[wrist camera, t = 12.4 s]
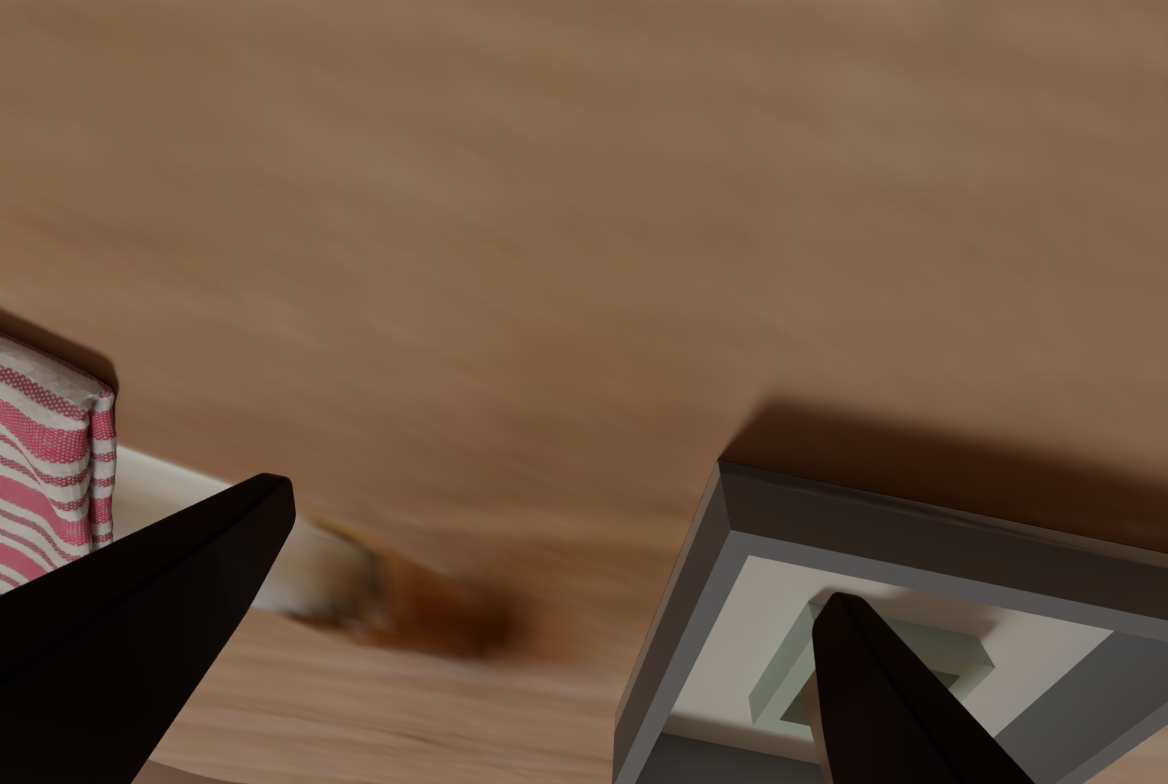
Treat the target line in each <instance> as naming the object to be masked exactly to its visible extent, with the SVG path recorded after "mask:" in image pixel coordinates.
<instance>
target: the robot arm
mask: <svg viewBox="0 0 1168 784" xmlns="http://www.w3.org/2000/svg"><path fill="white" fill-rule="evenodd" d="M295 518H296V510H295V502H294V495H293V487H292V482H291V480H290V479H289V478H287V477H285V476H280V475H276V474H271V473H261V474H258V475H256V476H254V477H252V478H249V479H247V480H245V481H243V482H241V483H239V484H237V485H234V486H232V487H230V488H228V489H226V490H224V491H222V492H219V493H217V494H215V495H213V496H211V497H209V498H207V499H205V500H202V501H200V502H198V503H196V504H194V505H192V506H190V507H187V508H185V509H183V510H181V511H179V512H177V513H175V514H172V515H170V516H168V517H166V518H164V519H162V520H160V521H157V522H155V523H153V524H151V525H149V526H147V527H145V528H143V529H140V530H138V531H136V532H134V533H132V534H130V535H128V536H125V537H123V538H121V539H119V540H117V541H115V542H113V543H110V544H108V545H106V546H104V547H102V548H100V549H98V550H95V551H93V552H91V553H89V554H87V555H85V556H83V557H80V558H78V559H76V560H74V561H72V562H70V563H68V564H66V565H63V566H61V567H59V568H57V569H55V570H53V571H51V572H48V573H46V574H44V575H42V576H40V577H38V578H36V579H33V580H31V581H29V582H27V583H25V584H23V585H21V586H18V587H16V588H14V589H12V590H10V591H8V592H6V593H4V594H1V595H0V784H131V783H132V781H133V780H134V778H135V777H136V775H137V774H138V772H139V771H140V769H141V768H142V767H143V765H144V764H145V762H146V761H147V759H148V758H149V756H150V755H151V753H152V752H153V750H154V749H155V747H156V746H157V744H158V743H159V741H160V740H161V739H162V737H163V736H164V734H165V733H166V731H167V730H168V728H169V727H170V725H171V724H172V722H173V721H174V719H175V718H176V716H177V715H178V714H179V712H180V711H181V709H182V708H183V706H184V705H185V703H186V702H187V700H188V699H189V697H190V696H191V694H192V693H193V691H194V690H195V689H196V687H197V686H198V684H199V683H200V681H201V680H202V678H203V677H204V675H205V674H206V672H207V671H208V669H209V668H210V666H211V665H212V663H213V662H214V661H215V659H216V658H217V656H218V655H219V653H220V652H221V650H222V649H223V647H224V646H225V644H226V643H227V641H228V640H229V638H230V637H231V636H232V634H233V633H234V631H235V630H236V628H237V627H238V625H239V624H240V622H241V620H242V619H243V617H244V616H245V614H246V613H247V611H248V609H249V607H250V606H251V604H252V602H253V600H254V599H255V597H256V595H257V593H258V591H259V589H260V587H261V586H262V584H263V582H264V580H265V578H266V576H267V574H268V573H269V571H270V569H271V567H272V565H273V563H274V561H275V560H276V558H277V556H278V554H279V552H280V550H281V548H282V547H283V545H284V543H285V541H286V539H287V537H288V535H289V534H290V532H291V530H292V528H293V525H294V522H295ZM812 642H813V651H814V661H815V670H816V679H817V688H818V697H819V707H820V716H821V723H822V730H823V736H824V741H825V747H826V752H827V756H828V761H829V766H830V771H831V775H832V780H833V784H1035V782H1034V781H1033V780H1032V779H1031V778H1030V777H1029V776H1028V775H1027V774H1026V773H1025V772H1024V771H1023V770H1022V768H1021V767H1020V766H1019V765H1018V764H1017V763H1016V762H1015V761H1014V760H1013V759H1012V758H1011V757H1010V756H1009V754H1008V753H1007V752H1006V751H1005V750H1004V749H1003V748H1002V747H1001V746H1000V745H999V744H998V743H997V742H996V740H995V739H994V738H993V737H992V736H991V735H990V734H989V733H988V732H987V731H986V730H985V729H984V728H983V726H982V725H981V724H980V723H979V722H978V721H977V720H976V719H975V718H974V717H973V716H972V715H971V714H970V712H969V711H968V710H967V709H966V708H965V707H964V706H963V705H962V704H961V703H960V702H959V701H958V699H957V698H956V697H955V696H954V695H953V694H952V693H951V692H950V691H949V690H948V689H947V688H946V687H945V685H944V684H943V683H942V682H941V681H940V680H939V679H938V678H937V677H936V676H935V675H934V674H933V673H932V671H931V670H930V669H929V668H928V667H927V666H926V665H925V664H924V663H923V662H922V661H921V660H920V659H919V657H918V656H917V655H916V654H915V653H914V652H913V651H912V650H911V649H910V648H909V647H908V646H907V645H906V643H905V642H904V641H903V640H902V639H901V638H900V637H899V636H898V635H897V634H896V633H895V632H894V631H893V629H892V628H891V627H890V626H889V625H888V624H887V623H886V622H885V621H884V620H883V619H882V618H881V616H880V615H879V614H878V613H877V612H876V611H875V610H874V609H873V608H872V607H871V606H870V605H869V604H868V602H867V601H865V600H864V599H863V598H862V597H860V596H857V595H853V594H848V593H843V592H835V593H833V594H832V595H831V596H830V598H829V599H828V601H827V602H826V604H825V605H824V607H823V608H822V610H821V611H820V613H819V615H818V616H817V618H816V619H815V621H814V624H813V627H812Z"/></svg>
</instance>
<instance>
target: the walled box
mask: <svg viewBox="0 0 1168 784" xmlns="http://www.w3.org/2000/svg"><path fill="white" fill-rule="evenodd" d="M835 592H843V593H848V594H853V595H857V596H860V597H862V598H863V599H864V600H865V601H867V602H868V604H869V605H870V606H871V607H872V608H873V609H874V610H875V611H876V612H877V613H878V614H879V615H880V616H881V618H882V619H883V620H884V621H885V622H886V623H887V624H888V625H889V626H890V627H891V628H892V629H893V631H894V632H895V633H896V634H897V635H898V636H899V637H900V638H901V639H902V640H903V641H904V642H905V643H906V645H907V646H908V647H909V648H910V649H911V650H912V651H913V652H914V653H915V654H916V655H917V656H918V657H919V659H920V660H921V661H922V662H923V663H924V664H925V665H926V666H927V667H928V668H929V669H930V670H931V671H932V673H933V674H934V675H935V676H936V677H937V678H938V679H939V680H940V681H941V682H942V683H943V684H944V685H945V687H946V688H947V689H948V690H949V691H950V692H951V693H952V694H953V695H954V696H955V697H956V698H957V699H958V701H959V702H960V703H961V704H962V705H963V706H964V707H965V708H966V709H967V710H968V711H969V712H970V714H971V715H972V716H973V717H974V718H975V719H976V720H977V721H978V722H979V723H980V724H981V725H982V726H983V728H984V729H985V730H986V731H987V732H988V733H989V734H990V735H991V736H992V737H993V738H994V739H995V740H996V742H997V743H998V744H999V745H1000V746H1001V747H1002V748H1003V749H1004V750H1005V751H1006V752H1007V753H1008V754H1009V756H1010V757H1011V758H1012V759H1013V760H1014V761H1015V762H1016V763H1017V764H1018V765H1019V766H1020V767H1021V768H1022V770H1023V771H1024V772H1025V773H1026V774H1027V775H1028V776H1029V777H1030V778H1031V779H1032V780H1033V781H1034V782H1035V784H1083V783H1084V782H1086V781H1087V780H1089V779H1090V778H1091V777H1093V776H1094V775H1096V774H1097V773H1099V772H1100V771H1101V770H1103V769H1104V768H1106V767H1107V766H1109V765H1110V764H1111V763H1113V762H1114V761H1116V760H1117V759H1119V758H1120V757H1121V756H1123V755H1124V754H1126V753H1127V752H1129V751H1130V750H1131V749H1133V748H1134V747H1136V746H1137V745H1139V744H1140V743H1141V742H1143V741H1144V740H1146V739H1147V738H1148V737H1150V736H1151V735H1153V734H1154V733H1156V732H1157V731H1158V730H1160V729H1161V728H1163V727H1164V726H1166V725H1167V724H1168V554H1165V553H1161V552H1156V551H1151V550H1146V549H1142V548H1137V547H1132V546H1127V545H1122V544H1118V543H1113V542H1108V541H1103V540H1098V539H1094V538H1089V537H1084V536H1079V535H1075V534H1070V533H1065V532H1060V531H1055V530H1051V529H1046V528H1041V527H1036V526H1031V525H1027V524H1022V523H1017V522H1012V521H1008V520H1003V519H998V518H993V517H988V516H984V515H979V514H974V513H969V512H965V511H960V510H955V509H950V508H945V507H941V506H936V505H931V504H926V503H921V502H917V501H912V500H907V499H902V498H898V497H893V496H888V495H883V494H878V493H874V492H869V491H864V490H859V489H854V488H850V487H845V486H840V485H835V484H831V483H826V482H821V481H816V480H811V479H807V478H802V477H797V476H792V475H787V474H783V473H778V472H773V471H768V470H764V469H759V468H754V467H749V466H744V465H740V464H735V463H730V462H725V461H720V460H717V462H716V464H715V467H714V469H713V472H712V474H711V477H710V479H709V482H708V484H707V487H706V489H705V492H704V494H703V497H702V499H701V502H700V504H699V507H698V509H697V512H696V514H695V517H694V519H693V522H692V524H691V527H690V529H689V532H688V534H687V537H686V539H685V542H684V544H683V547H682V549H681V552H680V554H679V557H678V559H677V562H676V564H675V567H674V569H673V572H672V574H671V577H670V579H669V582H668V584H667V587H666V589H665V592H664V594H663V597H662V599H661V602H660V604H659V607H658V609H657V612H656V614H655V617H654V619H653V622H652V624H651V627H650V629H649V632H648V634H647V637H646V639H645V642H644V644H643V647H642V649H641V652H640V654H639V657H638V659H637V662H636V664H635V667H634V669H633V672H632V674H631V677H630V679H629V682H628V684H627V687H626V689H625V692H624V694H623V697H622V699H621V702H620V704H619V707H618V709H617V712H616V714H615V731H614V753H613V775H612V784H825V783H824V779H823V775H822V771H821V767H820V763H819V760H818V756H817V752H816V748H815V744H814V740H813V736H812V732H811V728H810V724H809V720H808V716H807V712H806V708H805V704H804V700H803V697H802V693H801V688H802V687H803V686H804V684H805V683H806V681H807V680H808V679H809V677H810V676H811V674H812V673H813V671H814V670H815V661H814V651H813V642H812V627H813V624H814V621H815V619H816V618H817V616H818V615H819V613H820V611H821V610H822V608H823V607H824V605H825V604H826V602H827V601H828V599H829V598H830V596H831V595H832V594H833V593H835Z"/></svg>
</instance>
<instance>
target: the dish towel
mask: <svg viewBox="0 0 1168 784" xmlns="http://www.w3.org/2000/svg"><path fill="white" fill-rule="evenodd" d="M114 398H115V396H114V393H113V391H112V389H111V388H110V387H109V386H108V385H106V384H105V383H103V382H102V381H100V380H98V379H97V378H95V377H94V376H92V375H90V374H88V373H87V372H85V371H83V370H81V369H79V368H77V367H74V366H73V365H71V364H70V363H68V362H66V361H63V360H61V359H59V358H57V357H55V356H53V355H51V354H48V353H46V352H44V351H42V350H40V349H38V348H35V347H32V346H30V345H28V344H26V343H24V342H21V341H18V340H17V339H15V338H12V337H11V336H8V335H6V334H4V333H2V332H0V595H1V594H4V593H6V592H8V591H10V590H12V589H14V588H16V587H18V586H21V585H23V584H25V583H27V582H29V581H31V580H33V579H36V578H38V577H40V576H42V575H44V574H46V573H48V572H51V571H53V570H55V569H57V568H59V567H61V566H63V565H66V564H68V563H70V562H72V561H74V560H76V559H78V558H80V557H83V556H85V555H87V554H89V553H91V552H93V551H95V550H98V549H100V548H102V547H104V546H106V545H108V544H110V543H112V541H113V538H112V528H113V525H112V516H111V498H112V493H113V491H114V487H115V479H114V478H115V473H116V463H117V462H116V459H117V456H116V447H117V443H116V441H117V436H116V433H115V423H114V418H113V409H112V406H113V401H114Z"/></svg>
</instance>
